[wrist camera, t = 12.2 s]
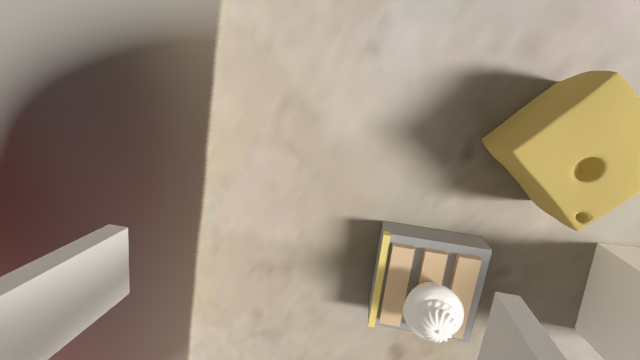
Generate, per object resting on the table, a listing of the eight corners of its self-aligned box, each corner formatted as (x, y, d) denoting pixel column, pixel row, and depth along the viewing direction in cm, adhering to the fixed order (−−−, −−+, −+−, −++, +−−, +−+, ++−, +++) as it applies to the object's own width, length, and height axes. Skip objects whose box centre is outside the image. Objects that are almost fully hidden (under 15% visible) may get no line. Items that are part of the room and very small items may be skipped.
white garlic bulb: (415, 260, 40) (423, 294, 33) (466, 283, 39) (485, 322, 33) (391, 304, 41) (394, 345, 35) (440, 326, 41) (453, 372, 34)
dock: (382, 220, 44) (383, 236, 40) (481, 236, 43) (495, 254, 38) (368, 304, 47) (368, 328, 43) (460, 321, 46) (471, 348, 41)
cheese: (616, 147, 39) (696, 164, 29) (528, 206, 42) (574, 239, 32) (558, 73, 38) (621, 65, 28) (472, 139, 41) (503, 152, 31)
